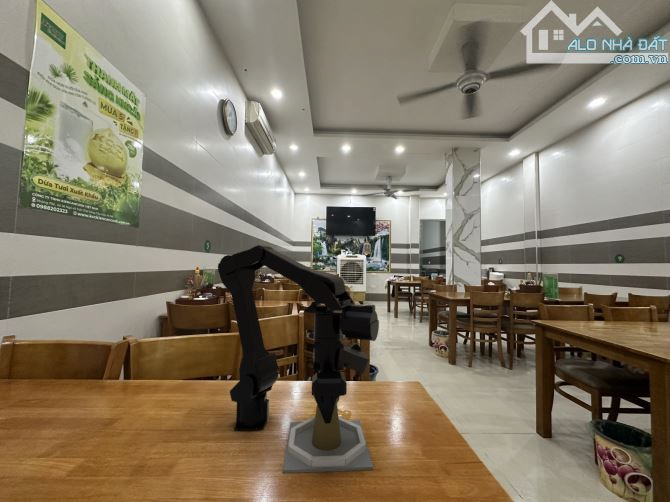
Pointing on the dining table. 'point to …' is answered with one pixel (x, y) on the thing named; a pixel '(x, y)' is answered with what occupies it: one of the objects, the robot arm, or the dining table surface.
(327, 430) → the olive brown pawn
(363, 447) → the collar plate
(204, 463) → the dining table surface
